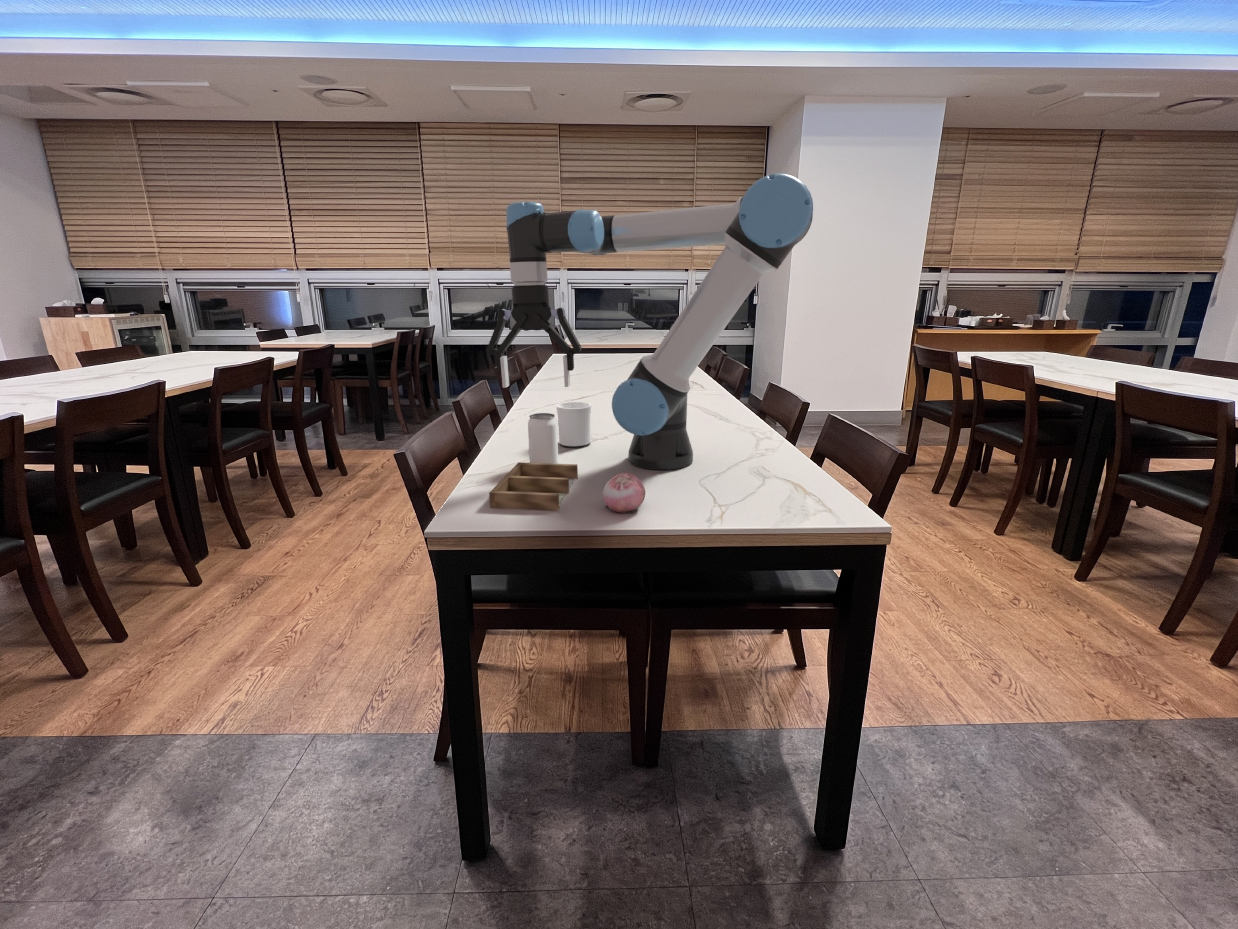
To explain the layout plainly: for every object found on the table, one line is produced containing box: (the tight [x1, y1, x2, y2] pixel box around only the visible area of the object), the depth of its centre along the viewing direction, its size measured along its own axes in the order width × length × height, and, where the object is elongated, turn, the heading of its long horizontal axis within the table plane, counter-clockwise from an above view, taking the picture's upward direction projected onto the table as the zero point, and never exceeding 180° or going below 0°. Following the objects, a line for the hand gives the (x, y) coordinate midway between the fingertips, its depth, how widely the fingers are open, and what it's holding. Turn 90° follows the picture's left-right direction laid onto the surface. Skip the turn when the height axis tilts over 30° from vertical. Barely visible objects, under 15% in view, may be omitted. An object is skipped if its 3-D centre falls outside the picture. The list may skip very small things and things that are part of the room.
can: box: [527, 412, 559, 464], centre depth 132 cm, size 6×6×12 cm
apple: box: [602, 472, 646, 514], centre depth 108 cm, size 8×8×7 cm
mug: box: [556, 401, 592, 449], centre depth 151 cm, size 11×9×10 cm
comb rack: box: [488, 462, 579, 511], centre depth 118 cm, size 13×19×3 cm
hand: (536, 386), depth 127 cm, fingers open, 13 cm apart
